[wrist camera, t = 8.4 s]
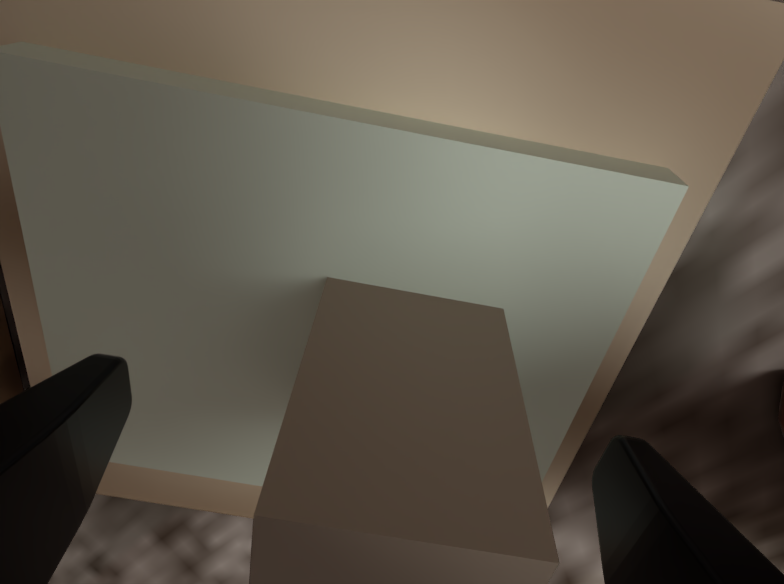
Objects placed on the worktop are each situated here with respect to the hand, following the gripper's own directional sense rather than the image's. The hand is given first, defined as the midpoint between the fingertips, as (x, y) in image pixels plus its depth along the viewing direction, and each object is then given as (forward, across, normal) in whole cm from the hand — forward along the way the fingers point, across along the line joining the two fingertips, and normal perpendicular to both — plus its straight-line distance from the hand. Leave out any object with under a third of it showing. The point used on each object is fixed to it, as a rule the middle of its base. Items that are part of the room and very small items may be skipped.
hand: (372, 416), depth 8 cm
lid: (+3, +1, 0) cm, 3 cm away
